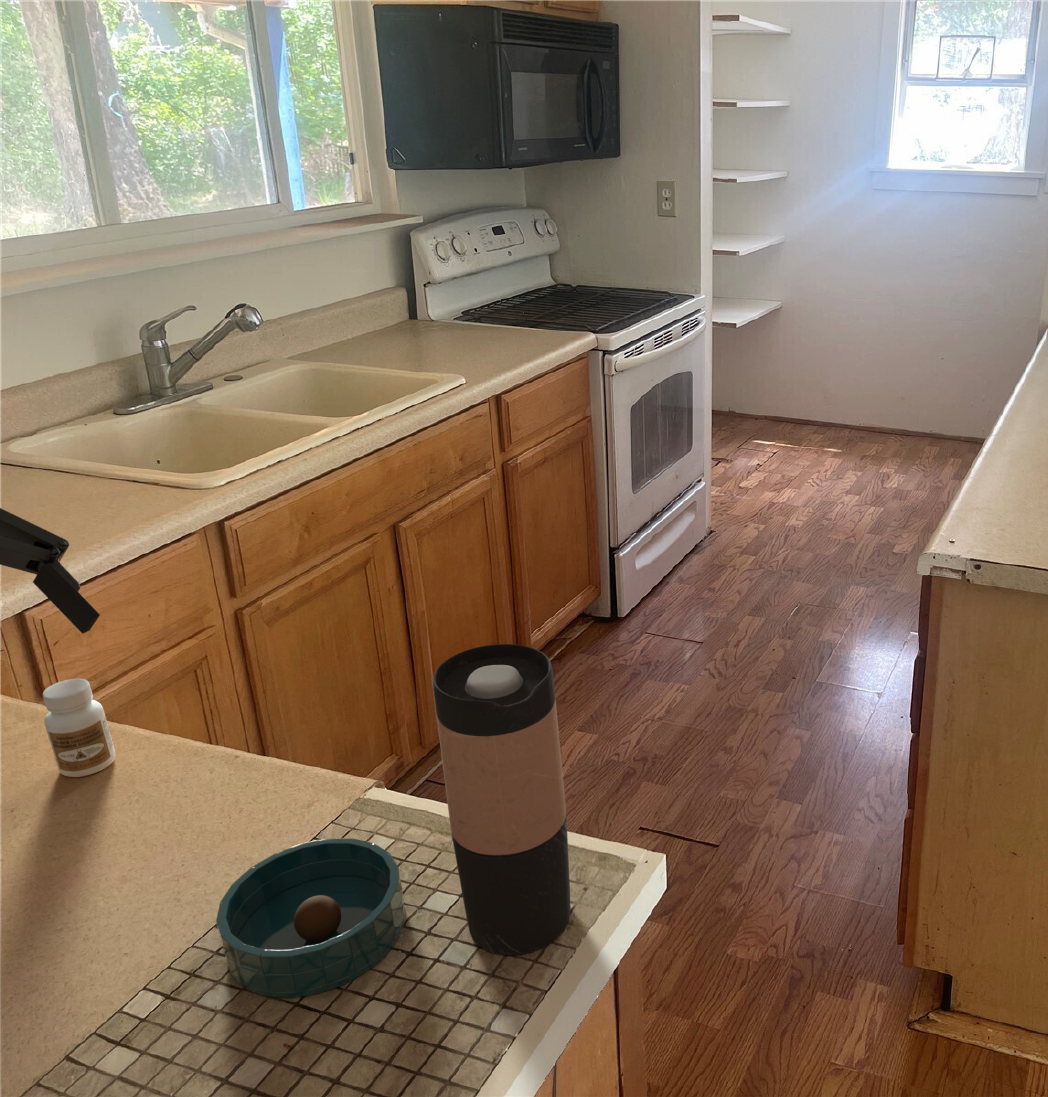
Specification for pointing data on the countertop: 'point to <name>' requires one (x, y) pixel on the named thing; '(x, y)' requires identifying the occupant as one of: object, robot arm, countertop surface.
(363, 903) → the bowl
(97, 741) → the pill bottle
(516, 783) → the travel mug
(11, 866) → the countertop surface
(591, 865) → the countertop surface
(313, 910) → the brown ball
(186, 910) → the countertop surface
